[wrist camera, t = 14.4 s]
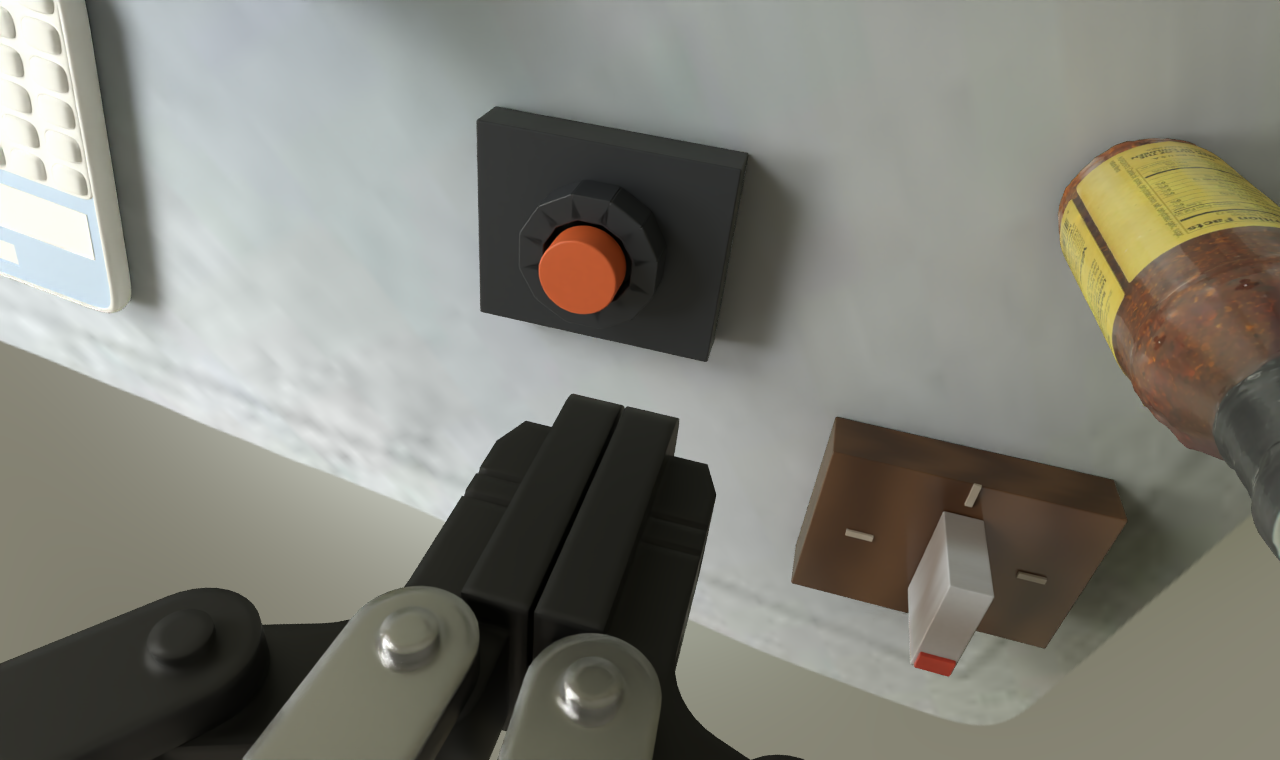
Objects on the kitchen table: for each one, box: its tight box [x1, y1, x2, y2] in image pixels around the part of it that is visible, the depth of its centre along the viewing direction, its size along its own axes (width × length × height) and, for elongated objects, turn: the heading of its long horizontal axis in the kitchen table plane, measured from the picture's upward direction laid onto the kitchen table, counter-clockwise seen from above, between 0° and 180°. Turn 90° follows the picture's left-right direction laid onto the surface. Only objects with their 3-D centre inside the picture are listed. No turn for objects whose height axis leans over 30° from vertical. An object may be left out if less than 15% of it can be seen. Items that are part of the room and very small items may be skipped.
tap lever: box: [908, 511, 994, 677], centre depth 40 cm, size 6×2×5 cm, turn 173°
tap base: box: [791, 417, 1128, 648], centre depth 43 cm, size 14×10×3 cm
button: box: [539, 225, 626, 314], centre depth 36 cm, size 4×4×2 cm
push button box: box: [477, 107, 748, 362], centre depth 38 cm, size 12×10×4 cm
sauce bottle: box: [1058, 138, 1280, 561], centre depth 25 cm, size 7×6×20 cm
